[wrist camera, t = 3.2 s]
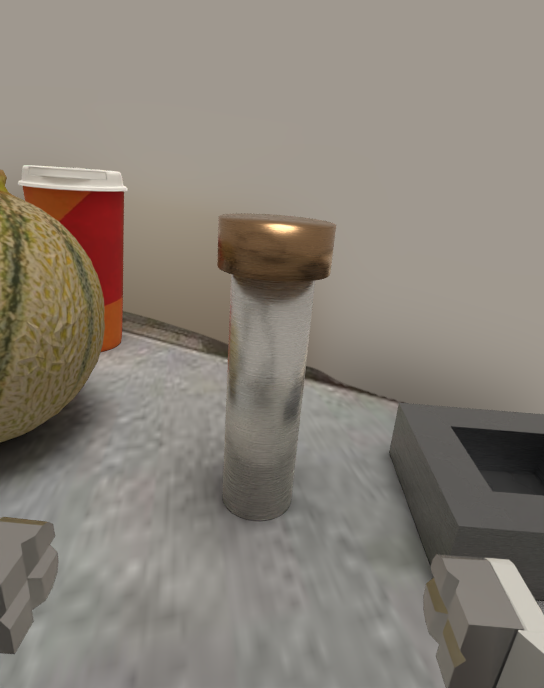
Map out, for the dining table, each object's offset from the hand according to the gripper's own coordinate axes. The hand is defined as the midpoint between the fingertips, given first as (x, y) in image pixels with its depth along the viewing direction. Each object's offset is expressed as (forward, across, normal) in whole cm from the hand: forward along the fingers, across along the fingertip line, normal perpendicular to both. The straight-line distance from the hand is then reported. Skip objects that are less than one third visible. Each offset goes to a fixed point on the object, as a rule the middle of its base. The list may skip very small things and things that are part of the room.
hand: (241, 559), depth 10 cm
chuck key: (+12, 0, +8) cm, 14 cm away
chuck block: (+12, -15, +8) cm, 20 cm away
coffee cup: (+31, +17, +8) cm, 36 cm away
